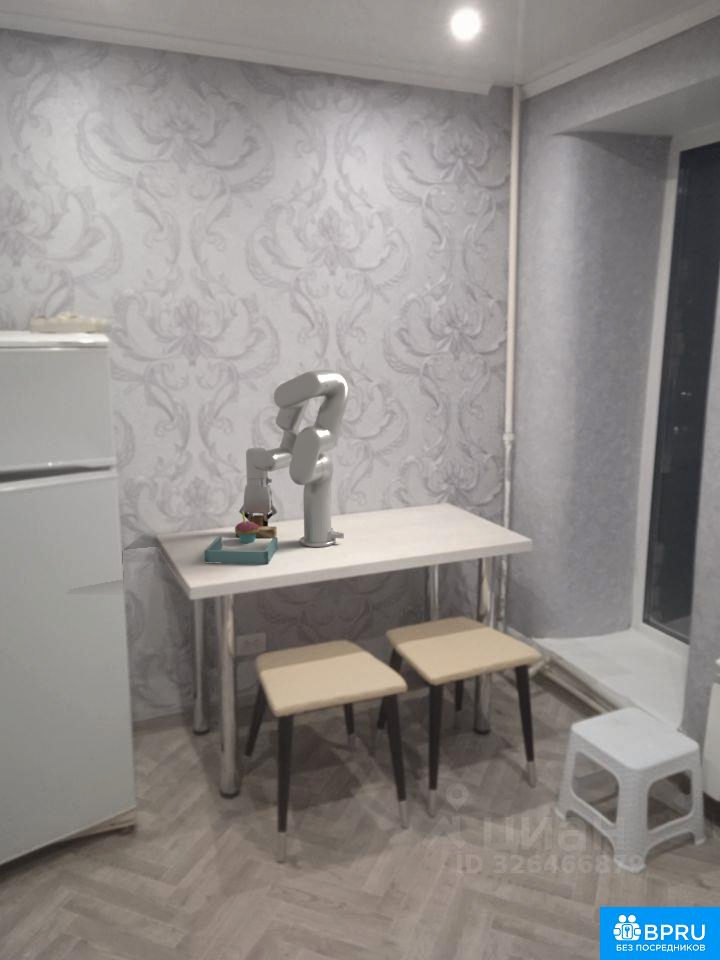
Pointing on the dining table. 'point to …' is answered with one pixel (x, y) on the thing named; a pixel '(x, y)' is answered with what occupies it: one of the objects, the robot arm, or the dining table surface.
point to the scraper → (263, 528)
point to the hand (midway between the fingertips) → (258, 530)
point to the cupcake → (246, 530)
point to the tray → (239, 554)
